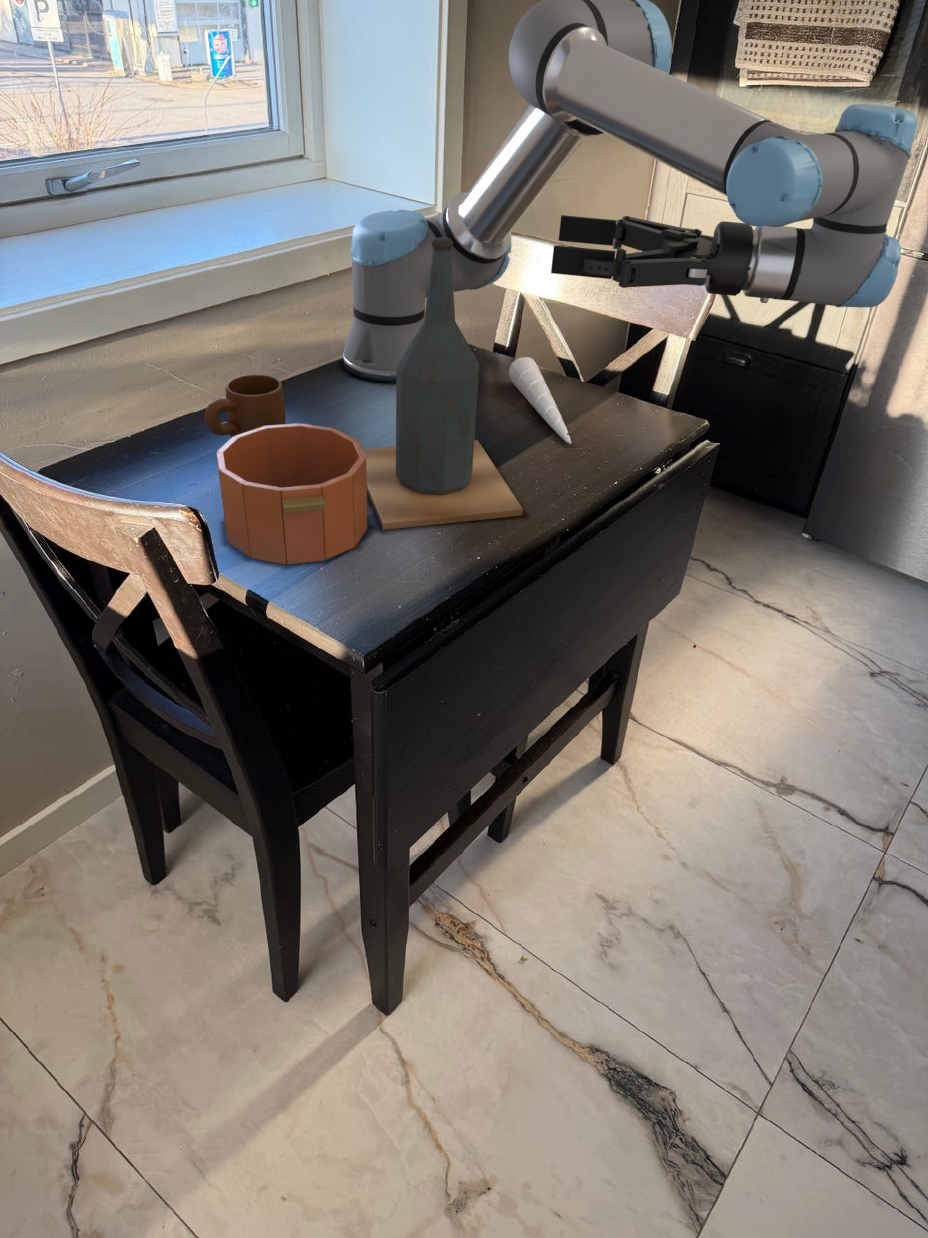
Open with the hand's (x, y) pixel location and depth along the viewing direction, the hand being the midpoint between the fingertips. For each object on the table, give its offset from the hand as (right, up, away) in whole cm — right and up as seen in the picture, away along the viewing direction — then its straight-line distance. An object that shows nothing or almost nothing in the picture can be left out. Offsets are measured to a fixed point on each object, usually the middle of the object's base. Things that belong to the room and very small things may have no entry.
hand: (556, 242), depth 102 cm
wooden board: (-14, -25, +18) cm, 34 cm away
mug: (-40, -20, +22) cm, 50 cm away
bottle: (-14, -24, +17) cm, 33 cm away
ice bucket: (-31, -31, +8) cm, 44 cm away
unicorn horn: (+2, -10, +39) cm, 40 cm away
